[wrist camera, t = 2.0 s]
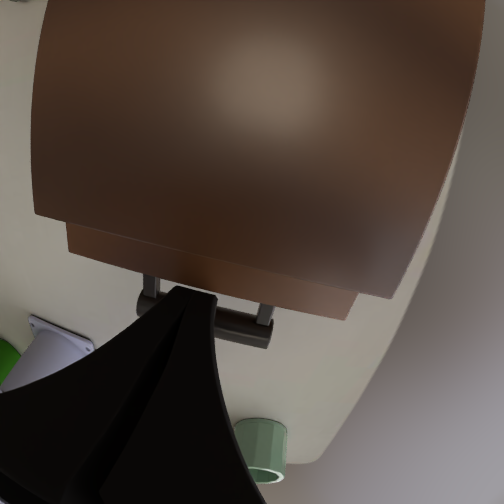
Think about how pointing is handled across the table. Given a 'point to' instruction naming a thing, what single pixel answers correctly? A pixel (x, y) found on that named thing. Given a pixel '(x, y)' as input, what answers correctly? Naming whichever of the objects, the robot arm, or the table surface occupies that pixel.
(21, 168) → the table surface
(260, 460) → the green cup
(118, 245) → the drawer
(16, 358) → the cup
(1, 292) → the table surface
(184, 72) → the cabinet
